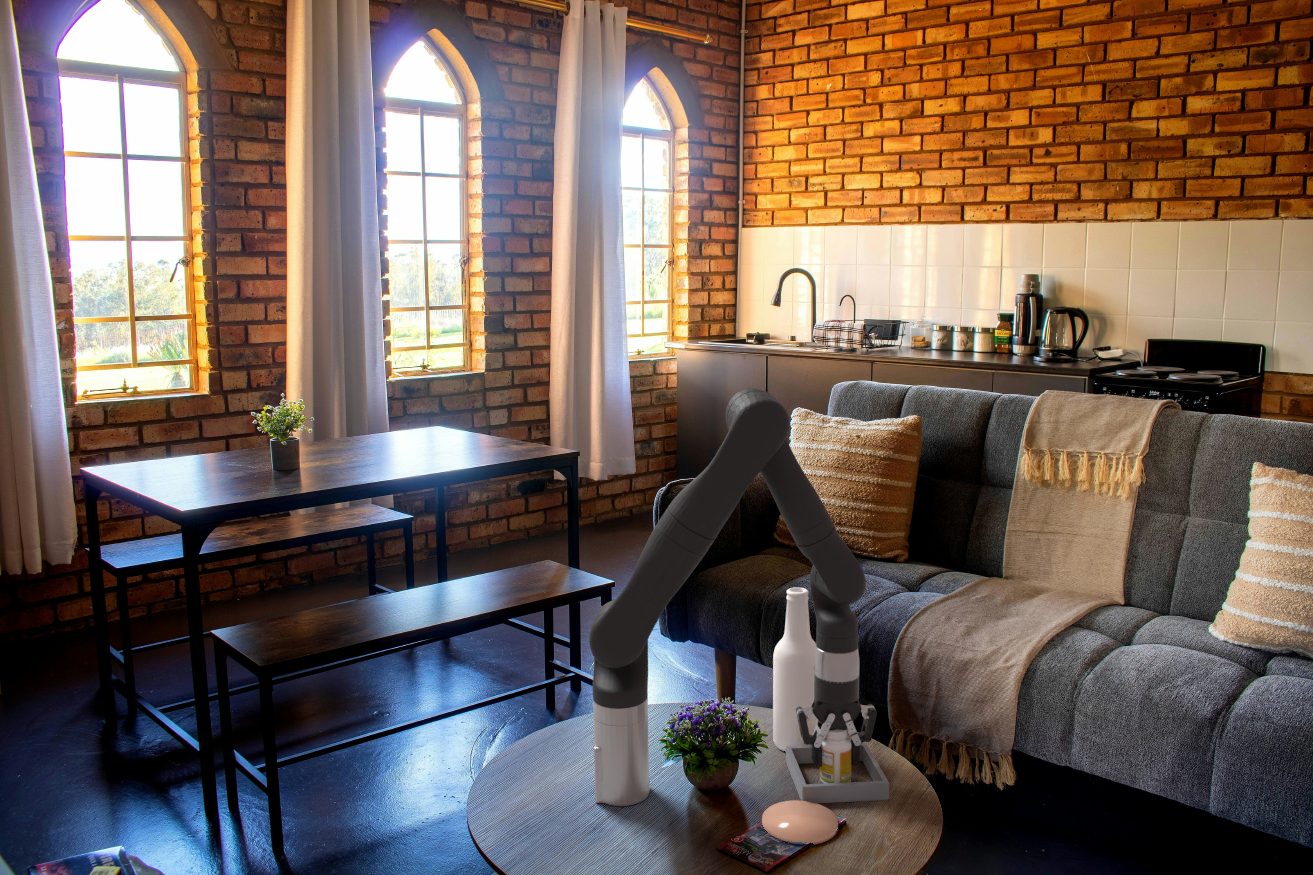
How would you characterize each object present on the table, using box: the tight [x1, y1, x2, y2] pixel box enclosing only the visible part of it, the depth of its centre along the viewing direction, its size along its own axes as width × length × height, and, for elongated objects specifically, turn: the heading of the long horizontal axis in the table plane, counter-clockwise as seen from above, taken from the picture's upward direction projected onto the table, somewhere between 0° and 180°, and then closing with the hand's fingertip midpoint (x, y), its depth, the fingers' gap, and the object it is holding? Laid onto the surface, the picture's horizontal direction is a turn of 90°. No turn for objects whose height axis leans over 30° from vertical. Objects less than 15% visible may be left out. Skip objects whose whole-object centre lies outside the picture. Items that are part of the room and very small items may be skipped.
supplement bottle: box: [819, 728, 852, 784], centre depth 174 cm, size 5×5×10 cm
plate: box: [761, 799, 839, 845], centre depth 161 cm, size 12×12×1 cm
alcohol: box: [772, 586, 818, 753], centre depth 186 cm, size 9×9×30 cm
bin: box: [785, 742, 890, 804], centre depth 175 cm, size 15×15×3 cm
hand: (835, 763), depth 175 cm, fingers closed on supplement bottle, 5 cm apart
